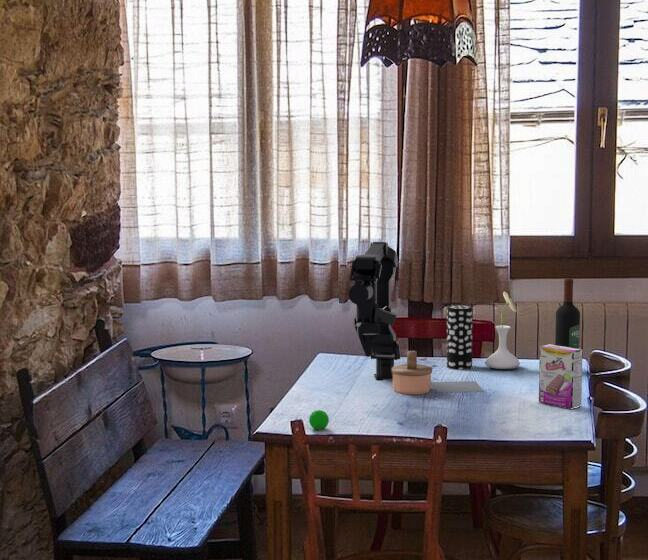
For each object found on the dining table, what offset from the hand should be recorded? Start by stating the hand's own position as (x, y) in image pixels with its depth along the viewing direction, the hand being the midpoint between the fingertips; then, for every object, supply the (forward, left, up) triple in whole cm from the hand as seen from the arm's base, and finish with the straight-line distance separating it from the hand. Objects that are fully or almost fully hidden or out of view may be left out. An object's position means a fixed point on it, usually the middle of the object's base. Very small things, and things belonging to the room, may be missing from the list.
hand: (366, 353), depth 294 cm
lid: (-7, +14, -7) cm, 17 cm away
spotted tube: (-40, +34, -13) cm, 54 cm away
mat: (-10, +28, -13) cm, 32 cm away
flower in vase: (-38, +48, -13) cm, 63 cm away
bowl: (-7, +14, -13) cm, 20 cm away
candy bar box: (+13, +53, -13) cm, 56 cm away
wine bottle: (-30, +67, -13) cm, 75 cm away
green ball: (+33, -15, -13) cm, 39 cm away
